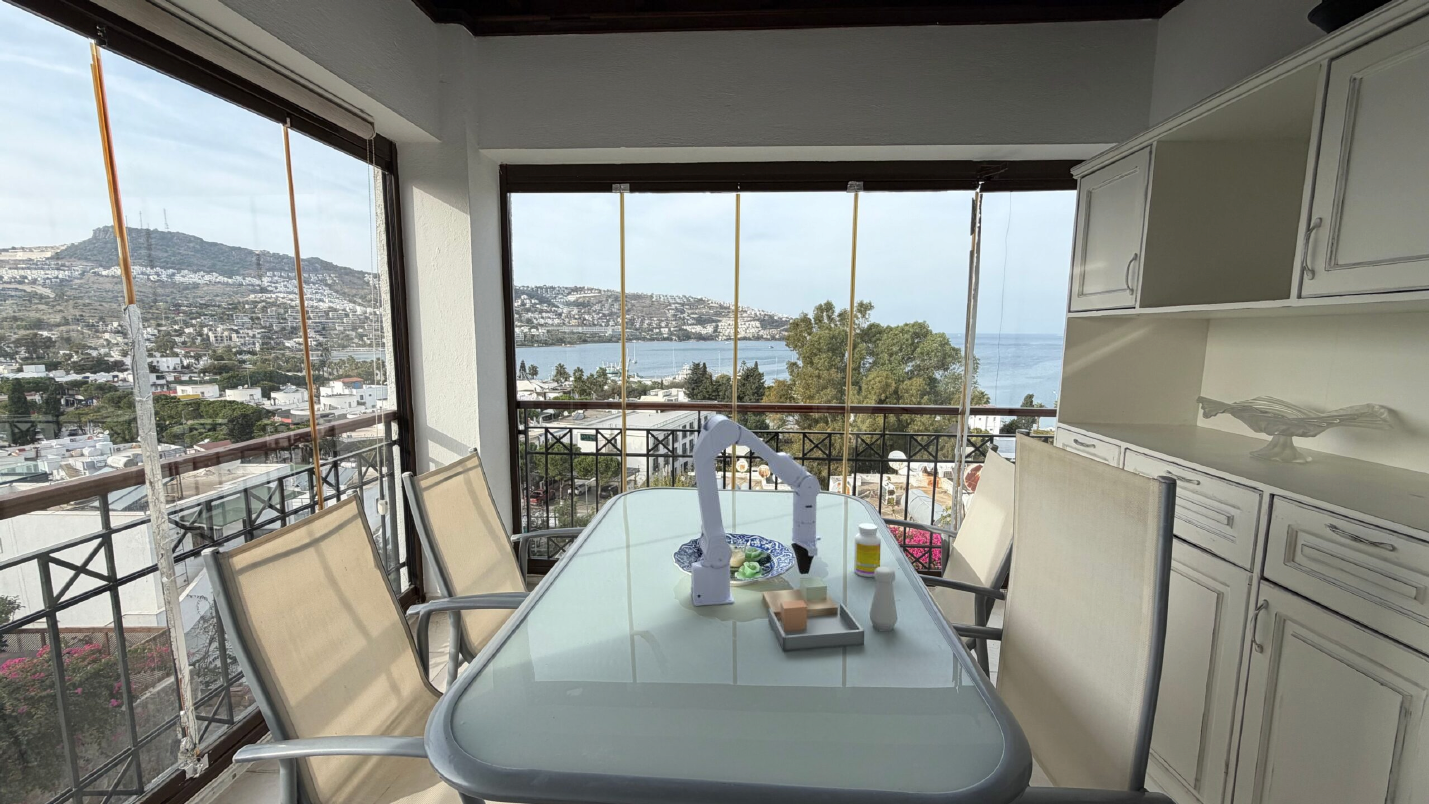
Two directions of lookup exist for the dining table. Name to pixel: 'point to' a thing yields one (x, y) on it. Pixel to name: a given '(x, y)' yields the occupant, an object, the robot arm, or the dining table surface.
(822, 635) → the tray
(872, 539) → the supplement bottle
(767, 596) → the board
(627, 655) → the dining table surface
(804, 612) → the tile terracotta
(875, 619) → the salt shaker
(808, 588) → the tile sage
